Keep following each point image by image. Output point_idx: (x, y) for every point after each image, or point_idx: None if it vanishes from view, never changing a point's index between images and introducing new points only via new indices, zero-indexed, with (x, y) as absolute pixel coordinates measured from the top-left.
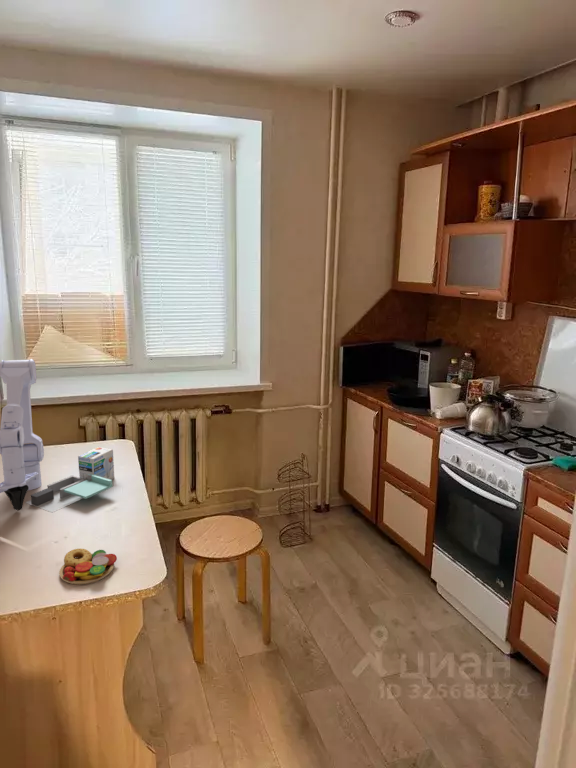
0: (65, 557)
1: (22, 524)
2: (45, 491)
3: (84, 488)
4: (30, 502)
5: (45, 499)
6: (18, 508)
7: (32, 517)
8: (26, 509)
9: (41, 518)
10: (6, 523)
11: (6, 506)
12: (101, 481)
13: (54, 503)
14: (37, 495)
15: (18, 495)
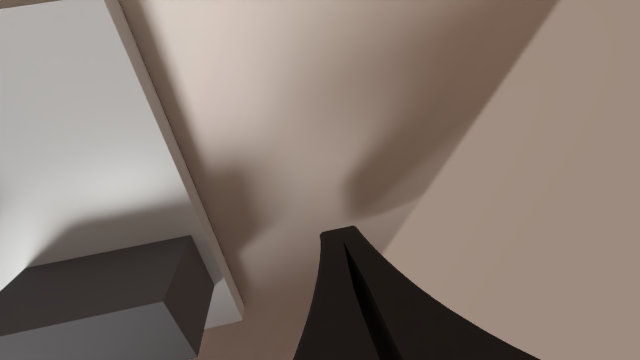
0: None
1: (407, 43)
2: (38, 358)
3: None
4: (212, 305)
5: (94, 270)
6: (358, 234)
7: (289, 106)
8: (263, 252)
9: (239, 18)
10: (451, 154)
11: None
12: None
13: (33, 186)
14: (142, 324)
15: (428, 346)
